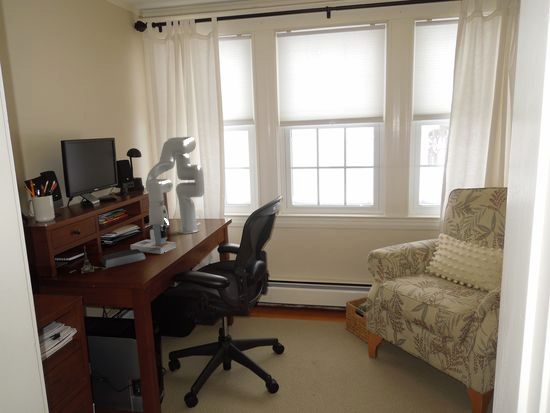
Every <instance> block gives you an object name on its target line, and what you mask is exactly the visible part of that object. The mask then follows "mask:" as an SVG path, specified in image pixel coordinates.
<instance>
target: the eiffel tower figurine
mask: <svg viewBox="0 0 550 413" xmlns="http://www.w3.org/2000/svg"><path fill="white" fill-rule="evenodd" d="M83 252H84V264H83V267H82V268H80V270H81V274H86V273H87V274H88V273H91V272H95V269H98V268H99V269H100V268H102V270H107V269H108V268H106V267H100V266H93V265H91V263H90V262H89V259H88V256H87V252H86V247H85V246H83ZM76 271H77V270H76V269H75V270H71V271H70V272H69V273H70V274H72V273H73V272H76Z"/></svg>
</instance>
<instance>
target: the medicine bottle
mask: <svg viewBox="0 0 550 413" xmlns="http://www.w3.org/2000/svg"><path fill="white" fill-rule="evenodd" d="M165 231H166V240H167V239H168V232H167V229H166V230H165ZM149 236H150V240H155V236H154V230H153V228H151V229H150V230H149Z"/></svg>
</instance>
